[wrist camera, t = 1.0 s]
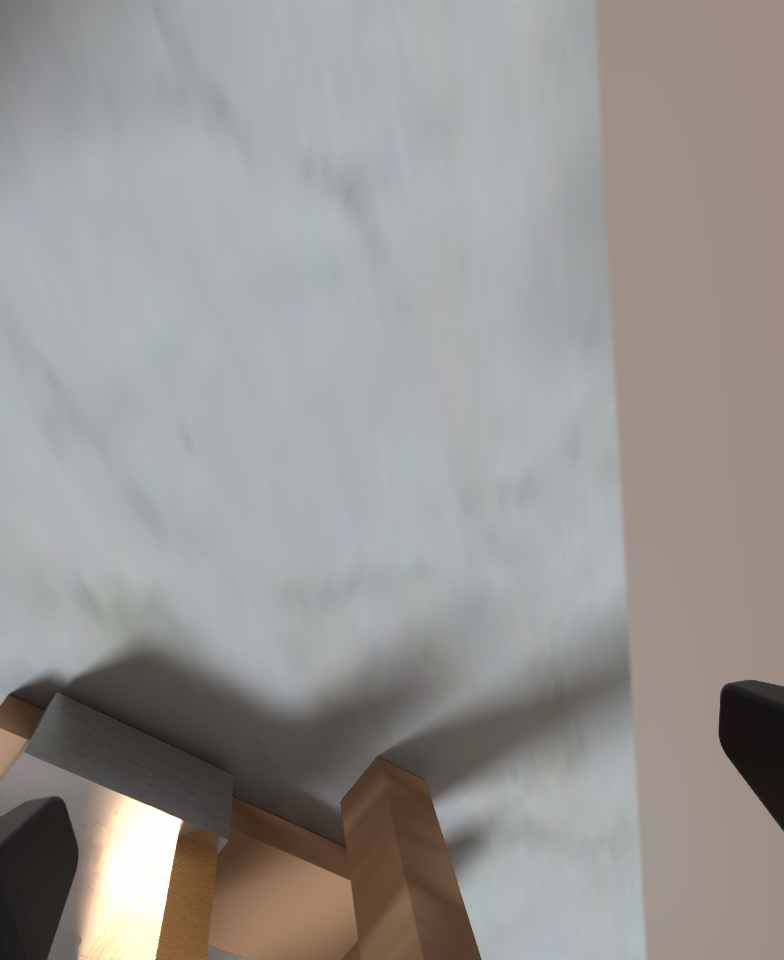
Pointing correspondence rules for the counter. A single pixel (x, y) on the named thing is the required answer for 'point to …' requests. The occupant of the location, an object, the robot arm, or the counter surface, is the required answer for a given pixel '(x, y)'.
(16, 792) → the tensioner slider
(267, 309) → the counter surface
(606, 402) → the counter surface
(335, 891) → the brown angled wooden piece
